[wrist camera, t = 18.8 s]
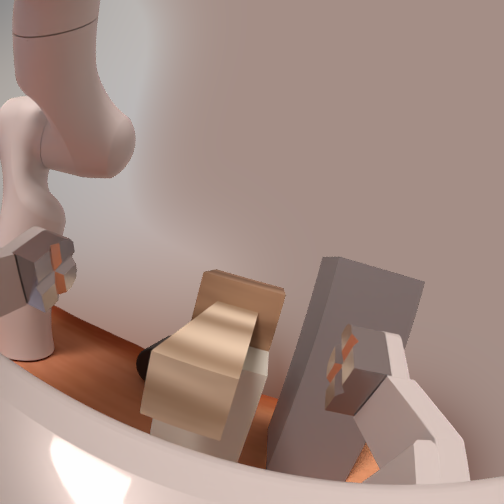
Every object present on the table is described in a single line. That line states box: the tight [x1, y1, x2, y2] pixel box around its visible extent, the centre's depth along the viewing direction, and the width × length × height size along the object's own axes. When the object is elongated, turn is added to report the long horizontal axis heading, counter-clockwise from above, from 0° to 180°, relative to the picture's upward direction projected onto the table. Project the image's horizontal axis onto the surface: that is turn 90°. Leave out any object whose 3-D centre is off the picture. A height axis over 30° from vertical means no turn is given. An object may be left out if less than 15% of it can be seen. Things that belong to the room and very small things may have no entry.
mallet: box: [140, 269, 286, 441], centre depth 22 cm, size 21×7×5 cm, turn 176°
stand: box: [150, 346, 269, 463], centre depth 26 cm, size 7×12×16 cm, turn 176°
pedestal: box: [266, 257, 425, 482], centre depth 36 cm, size 10×11×26 cm
